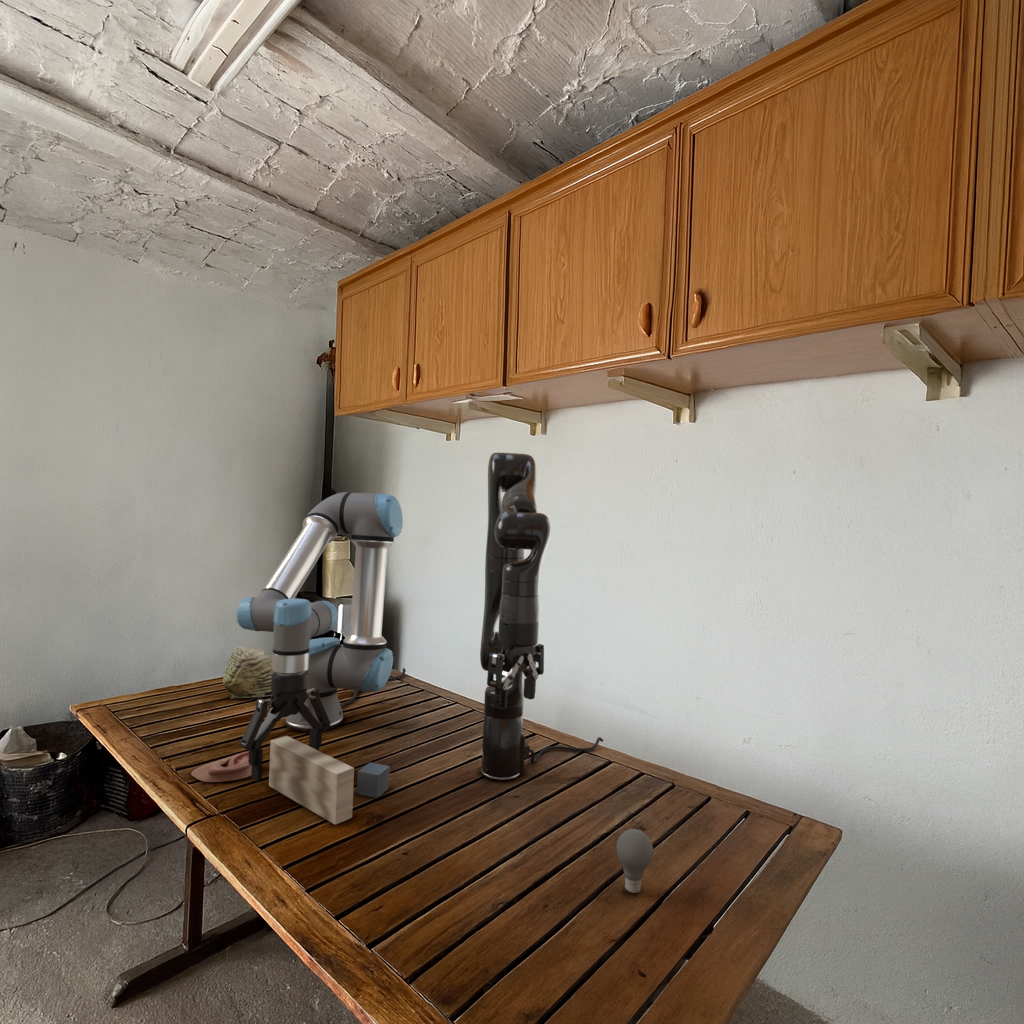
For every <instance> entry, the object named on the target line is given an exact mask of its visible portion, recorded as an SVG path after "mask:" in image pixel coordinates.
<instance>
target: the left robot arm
mask: <svg viewBox="0 0 1024 1024" xmlns="http://www.w3.org/2000/svg"><path fill="white" fill-rule="evenodd" d="M402 510H403V509H402V507H401V504H400V502H399V500H398V499H397V498H396V497H395V496H394V495H392V494H387V493H381V492H378V493H374V492H372V493H371V492H350V491H344V492H343V491H342V492H338V493H335V494H333V495H330V496H328V497H326V498H325V499H323V500H321V501H320V502H319V503H318V504H317V505H315V506H314V507H313V508H312V509H311V510H310V511H309V512H308V514H307V515H306V516H305V518H304V519H303V521H302V525H301V526H302V529H301V531H300V532H299V533H298V535H297V537H296V539H295V540H294V541H293V543H292V544H291V546H290V548H289V549H288V550H287V552H286V553H285V555H284V557H283V558H282V560H281V561H280V562H279V564H278V566H277V567H276V568H275V570H274V571H273V573H272V574H271V576H270V578H269V579H268V580H267V582H266V583H265V585H264V586H263V588H262V589H261V591H260V592H259V593H258V595H257V597H254V596H252V597H246V598H244V599H242V600H240V603H239V604H238V606H237V610H236V621H237V623H238V625H239V627H241V628H242V629H244V630H248V631H253V632H254V631H255V632H267V633H273V635H272V636H273V641H272V658H271V659H272V671H273V672H274V673H273V674H272V677H271V691H272V695H271V696H270V698H269V699H268V698H267V699H262V698H257V700H256V703H255V709H254V712H253V714H252V716H251V719H250V720H249V723H248V725H247V727H246V729H245V731H244V733H243V735H242V737H241V740H240V742H239V746H240V747H241V748H243V749H245V750H247V751H249V758H248V762H249V764H250V765H252V769H251V776H250V778H251V779H252V780H254V781H256V782H258V783H259V782H261V781H262V779H263V778H262V776H263V775H262V774H263V752H264V749H263V748H261V746H262V745H263V743H264V742H265V740H266V739H267V737H268V736H269V734H271V732H272V730H273V729H274V728H275V726H276V724H277V723H278V722H280V721H281V719H282V718H285V726H286V728H287V729H289V730H291V731H294V732H295V731H296V732H301V733H308V734H309V735H308V746H309V747H311V748H314V749H316V750H318V751H320V746H322V744H323V743H322V741H323V740H322V739H323V733H325V732H326V731H329V730H332V729H335V728H337V727H339V726H340V725H342V723H343V722H344V714H343V709H342V707H345V706H347V705H349V704H351V703H352V702H353V701H355V700H356V699H357V696H358V693H360V692H363V693H366V692H372V693H377V692H379V691H381V690H382V689H383V688H384V687H385V685H386V684H387V682H390V681H394V680H398V679H401V678H403V677H404V676H405V674H406V672H407V670H406V668H405V667H402V672H401V674H402V675H401V674H399V675H396V676H392V677H390V676H391V673H392V669H393V665H394V655H393V651H392V650H391V649H389V648H387V640H386V639H385V637H384V636H383V635H382V634H383V633H382V631H383V620H384V607H385V606H384V605H385V604H384V603H385V591H386V576H387V563H388V562H387V561H388V549H389V548H390V547H391V546H392V545H393V544H394V543H395V538H396V537H399V536H400V535H401V534H402V529H403V523H404V521H403V520H404V518H403V511H402ZM343 534H346V535H351V536H350V541H351V543H352V544H353V546H355V558H354V570H353V583H352V584H353V585H352V596H351V597H352V599H351V611H350V612H351V613H350V626H349V634H348V636H346V637H345V638H344V639H343V642H342V644H340V643H341V641H340V639H339V638H338V637H334V636H333V637H332V636H331V637H319V636H321V635H324V634H326V633H328V632H329V631H331V630H333V629H334V628H335V626H336V625H337V623H338V621H339V613H338V609H337V607H336V606H335V605H334V604H333V603H332V602H330V601H327V600H316V601H314V602H310V600H308V599H305V598H296V597H297V595H298V593H299V591H300V590H301V588H302V586H303V585H304V583H305V582H306V580H307V579H308V577H309V575H310V574H311V572H312V570H313V568H314V567H315V565H316V563H317V562H318V560H319V558H320V557H321V555H322V554H323V552H324V550H325V549H326V547H327V545H328V544H330V543H332V542H334V541H335V539H336V538H337V536H338V535H343ZM315 637H318V638H315ZM312 638H313V639H312ZM338 689H339V690H340V689H341V690H351V691H354V692H353V696H352V697H351V698H350V699H348V700H347V701H344V702H342V703H341V702H340V699H339V695H338ZM268 710H269V711H268Z"/></svg>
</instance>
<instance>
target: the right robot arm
mask: <svg viewBox="0 0 1024 1024" xmlns="http://www.w3.org/2000/svg"><path fill="white" fill-rule="evenodd" d="M536 492H537V465H536V461H535V459H534V457H533V456H532V455H530V454H527V453H519V452H518V453H517V452H493V453H491V454H490V457H489V460H488V465H487V534H486V535H487V536H486V545H485V563H484V564H485V565H484V607H483V616H482V617H483V618H482V629H481V637H480V638H481V639H480V651H479V660H480V667H481V668H482V670H483V671H486V672H487V677H486V685H487V686H486V688H485V690H484V702H483V703H484V704H483V724H482V725H483V727H482V747H480V752H481V767H480V774H481V775H482V776H483V777H485V778H486V779H488V780H493V781H499V782H506V781H512V780H515V779H518V778H519V777H522V776H524V774H525V760H530V762H531V763H533V764H534V763H535V762H536V760H537V759H538V758H539V757H540V756H542V755H543V754H544V753H545V752H548V751H552V750H562V751H563V750H566V751H574V752H590V751H593V750H595V749H596V748H597V747H598V745H599V744H600V742H604V739H603V738H602V737H601V736H600V737H597V738H596V740H595V743H594V744H593V745H592V746H590V747H572V746H563V745H553V746H547V747H545V748H543V749H541V750H540V751H539V752H538V753H537V754H536V752H535V750H534V749H532V748H531V747H530V744H528V743H527V742H526V735H525V733H524V732H523V720H524V700H525V699H527V700H531V701H532V700H534V699H535V697H536V688H537V687H536V686H537V680H538V679H539V676H540V675H541V676H542V675H544V672H545V666H544V665H545V645H544V644H542V643H538V642H539V627H540V626H539V625H540V580H541V579H540V577H541V569H542V565H543V560H544V556H545V553H546V550H547V548H548V546H549V545H548V544H549V542H550V538H551V536H552V524H551V520H550V518H549V517H548V516H547V515H546V514H545V513H542V512H539V511H538V506H537V501H536ZM502 493H504V494H503V496H502ZM526 550H527V551H530V552H529V555H528V556H527V557H526ZM497 623H498V631H497V630H496V627H497ZM537 664H538V665H537ZM494 675H495V676H494ZM494 677H495V678H494ZM503 678H504V679H503ZM530 753H531V757H530Z"/></svg>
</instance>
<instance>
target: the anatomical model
mask: <svg viewBox="0 0 1024 1024" xmlns="http://www.w3.org/2000/svg"><path fill="white" fill-rule="evenodd" d="M248 758H249V750H247V751H243V752H240V753H236V754H234V755H231V756H228V757H225V758H222V759H219V760H216V761H211V762H209V763H206V764H204V765H201V766H198V767H197V768H195V769H193V770H192V771H191V773H190V775H191V776H192V777H193V778H194V779H196V780H198V781H201V782H203V783H221V782H230V781H231V782H233V781H237V780H241V779H246V778H248V777H251V769H252V765H250V764H249V762H248Z"/></svg>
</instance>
